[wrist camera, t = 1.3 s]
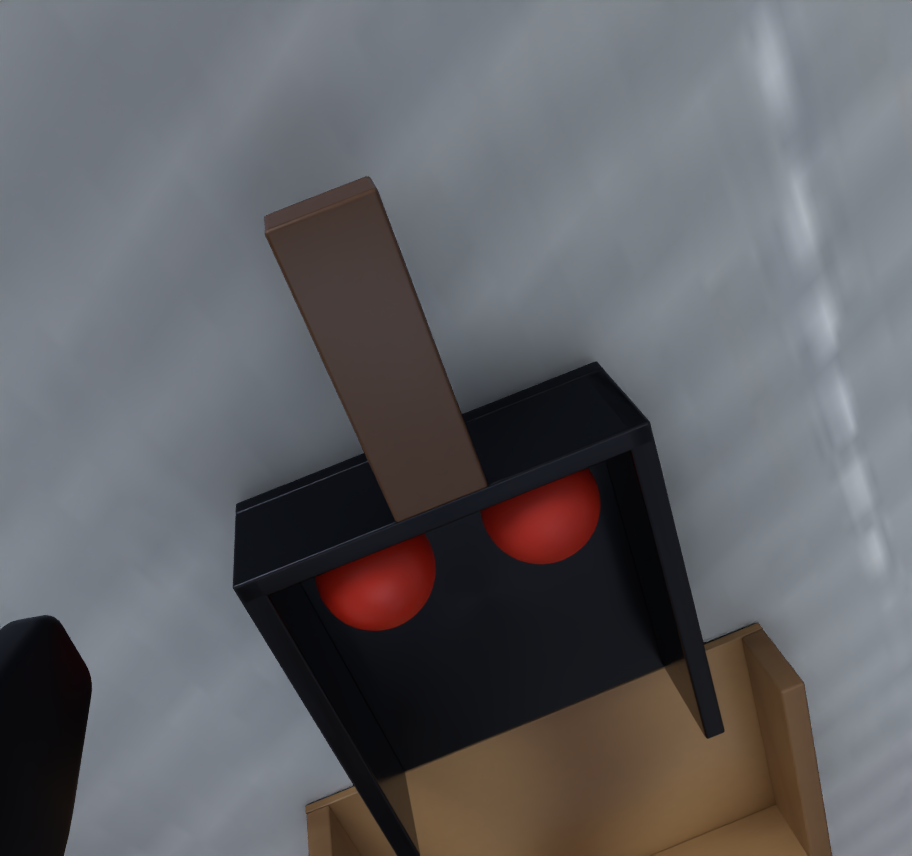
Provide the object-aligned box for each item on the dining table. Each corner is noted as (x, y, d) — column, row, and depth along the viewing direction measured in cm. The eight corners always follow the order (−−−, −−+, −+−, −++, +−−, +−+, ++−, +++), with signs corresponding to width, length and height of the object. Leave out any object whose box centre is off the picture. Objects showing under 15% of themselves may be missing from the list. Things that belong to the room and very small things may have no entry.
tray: (408, 959, 33) (420, 1037, 31) (305, 805, 28) (309, 884, 26) (792, 801, 33) (834, 866, 31) (758, 622, 28) (805, 683, 26)
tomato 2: (494, 555, 23) (514, 602, 20) (456, 456, 23) (470, 490, 20) (597, 514, 23) (631, 555, 20) (562, 414, 23) (592, 441, 20)
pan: (92, 254, 19) (59, 310, 15) (523, 86, 19) (577, 109, 16) (385, 767, 28) (402, 868, 24) (674, 649, 28) (727, 735, 25)
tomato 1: (343, 616, 23) (341, 671, 20) (299, 518, 22) (290, 562, 20) (446, 574, 23) (459, 624, 20) (405, 476, 22) (413, 513, 20)
